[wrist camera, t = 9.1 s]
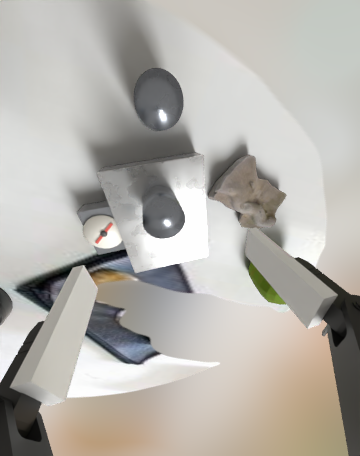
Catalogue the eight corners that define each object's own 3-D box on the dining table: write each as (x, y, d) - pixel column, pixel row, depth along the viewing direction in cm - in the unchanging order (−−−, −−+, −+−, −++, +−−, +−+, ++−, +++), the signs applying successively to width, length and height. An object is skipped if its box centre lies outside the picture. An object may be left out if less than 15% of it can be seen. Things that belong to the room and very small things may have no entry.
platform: (135, 269, 30) (135, 273, 30) (98, 171, 21) (96, 173, 20) (206, 253, 32) (207, 256, 31) (201, 154, 22) (203, 155, 22)
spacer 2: (147, 220, 25) (148, 242, 20) (138, 189, 22) (137, 205, 17) (178, 214, 25) (187, 234, 20) (173, 182, 23) (183, 196, 18)
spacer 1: (141, 133, 22) (140, 133, 17) (131, 86, 20) (127, 70, 15) (176, 128, 23) (185, 126, 18) (171, 82, 20) (180, 65, 15)
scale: (108, 264, 32) (105, 278, 29) (64, 173, 23) (52, 179, 20) (201, 243, 34) (207, 254, 31) (195, 152, 25) (202, 154, 22)
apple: (234, 269, 41) (261, 309, 32) (265, 237, 37) (305, 271, 28) (261, 280, 45) (291, 318, 36) (291, 253, 42) (332, 286, 32)
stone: (201, 193, 29) (208, 201, 26) (239, 146, 26) (254, 148, 23) (247, 231, 36) (258, 241, 32) (282, 196, 33) (298, 204, 29)
